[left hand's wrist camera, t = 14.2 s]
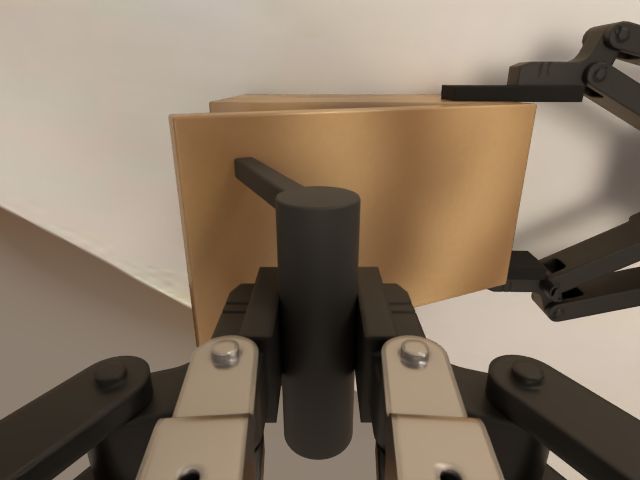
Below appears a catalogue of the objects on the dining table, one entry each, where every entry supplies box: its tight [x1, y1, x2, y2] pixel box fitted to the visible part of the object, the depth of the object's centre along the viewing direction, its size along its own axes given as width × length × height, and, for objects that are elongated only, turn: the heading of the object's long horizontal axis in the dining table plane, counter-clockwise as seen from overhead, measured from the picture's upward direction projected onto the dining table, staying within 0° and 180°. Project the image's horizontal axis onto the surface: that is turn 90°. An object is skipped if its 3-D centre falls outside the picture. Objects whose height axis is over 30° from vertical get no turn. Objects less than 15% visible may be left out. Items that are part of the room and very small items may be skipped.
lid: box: [169, 103, 537, 460], centre depth 16 cm, size 16×9×8 cm, turn 90°
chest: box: [209, 95, 521, 113], centre depth 27 cm, size 15×9×9 cm, turn 90°
